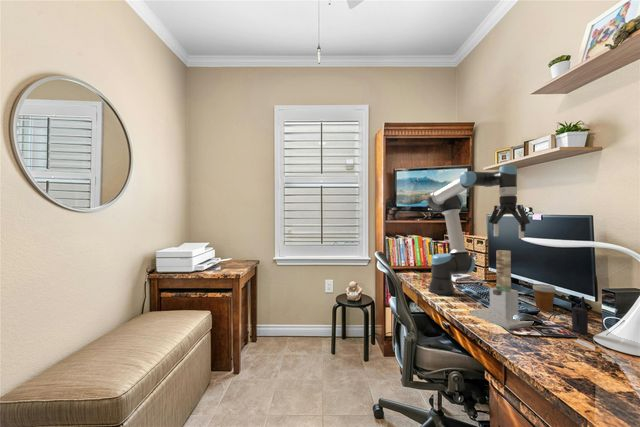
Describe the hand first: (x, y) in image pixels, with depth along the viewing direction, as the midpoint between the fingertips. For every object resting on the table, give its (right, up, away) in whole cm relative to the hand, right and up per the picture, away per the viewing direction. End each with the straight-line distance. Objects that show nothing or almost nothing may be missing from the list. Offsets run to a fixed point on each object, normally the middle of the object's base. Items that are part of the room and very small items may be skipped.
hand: (508, 237), depth 148 cm
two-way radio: (+10, -37, -30) cm, 48 cm away
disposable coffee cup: (+17, -37, -1) cm, 41 cm away
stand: (-11, -37, -14) cm, 41 cm away
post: (-11, -29, -14) cm, 34 cm away
